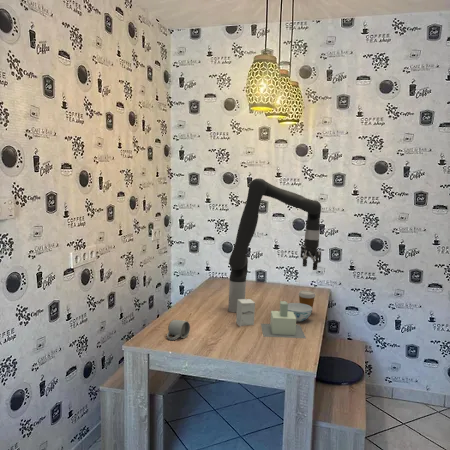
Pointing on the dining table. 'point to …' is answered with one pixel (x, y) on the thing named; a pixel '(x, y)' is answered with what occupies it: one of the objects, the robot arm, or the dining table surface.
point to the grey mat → (268, 333)
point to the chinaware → (300, 310)
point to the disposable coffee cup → (306, 298)
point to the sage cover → (283, 321)
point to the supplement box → (245, 312)
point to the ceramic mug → (178, 329)
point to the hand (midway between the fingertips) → (309, 268)
